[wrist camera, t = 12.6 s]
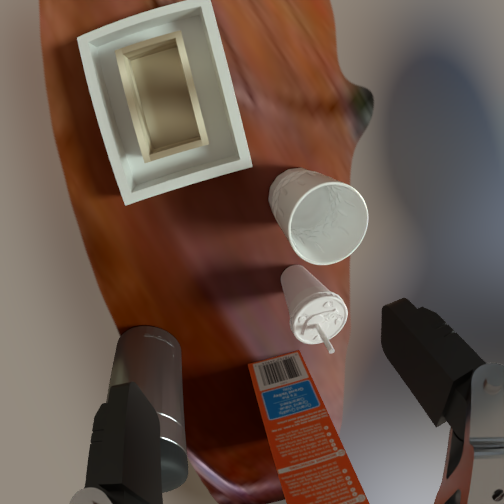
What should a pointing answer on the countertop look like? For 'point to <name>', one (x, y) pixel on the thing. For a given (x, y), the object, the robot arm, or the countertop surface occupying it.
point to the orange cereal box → (302, 435)
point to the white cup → (318, 215)
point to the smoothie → (312, 307)
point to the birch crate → (161, 96)
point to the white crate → (207, 88)
